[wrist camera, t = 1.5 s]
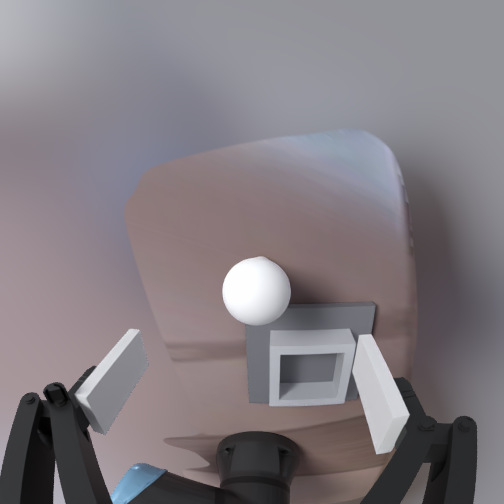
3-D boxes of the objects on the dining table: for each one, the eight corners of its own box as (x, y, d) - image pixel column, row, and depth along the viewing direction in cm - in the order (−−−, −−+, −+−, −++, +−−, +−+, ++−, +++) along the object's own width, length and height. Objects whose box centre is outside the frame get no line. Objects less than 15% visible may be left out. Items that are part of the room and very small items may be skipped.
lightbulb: (292, 243, 32) (299, 277, 22) (282, 292, 34) (284, 343, 23) (238, 235, 33) (220, 264, 22) (232, 284, 34) (213, 331, 24)
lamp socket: (354, 394, 37) (360, 415, 33) (249, 397, 39) (246, 419, 34) (372, 301, 33) (384, 318, 29) (245, 303, 35) (241, 322, 30)
